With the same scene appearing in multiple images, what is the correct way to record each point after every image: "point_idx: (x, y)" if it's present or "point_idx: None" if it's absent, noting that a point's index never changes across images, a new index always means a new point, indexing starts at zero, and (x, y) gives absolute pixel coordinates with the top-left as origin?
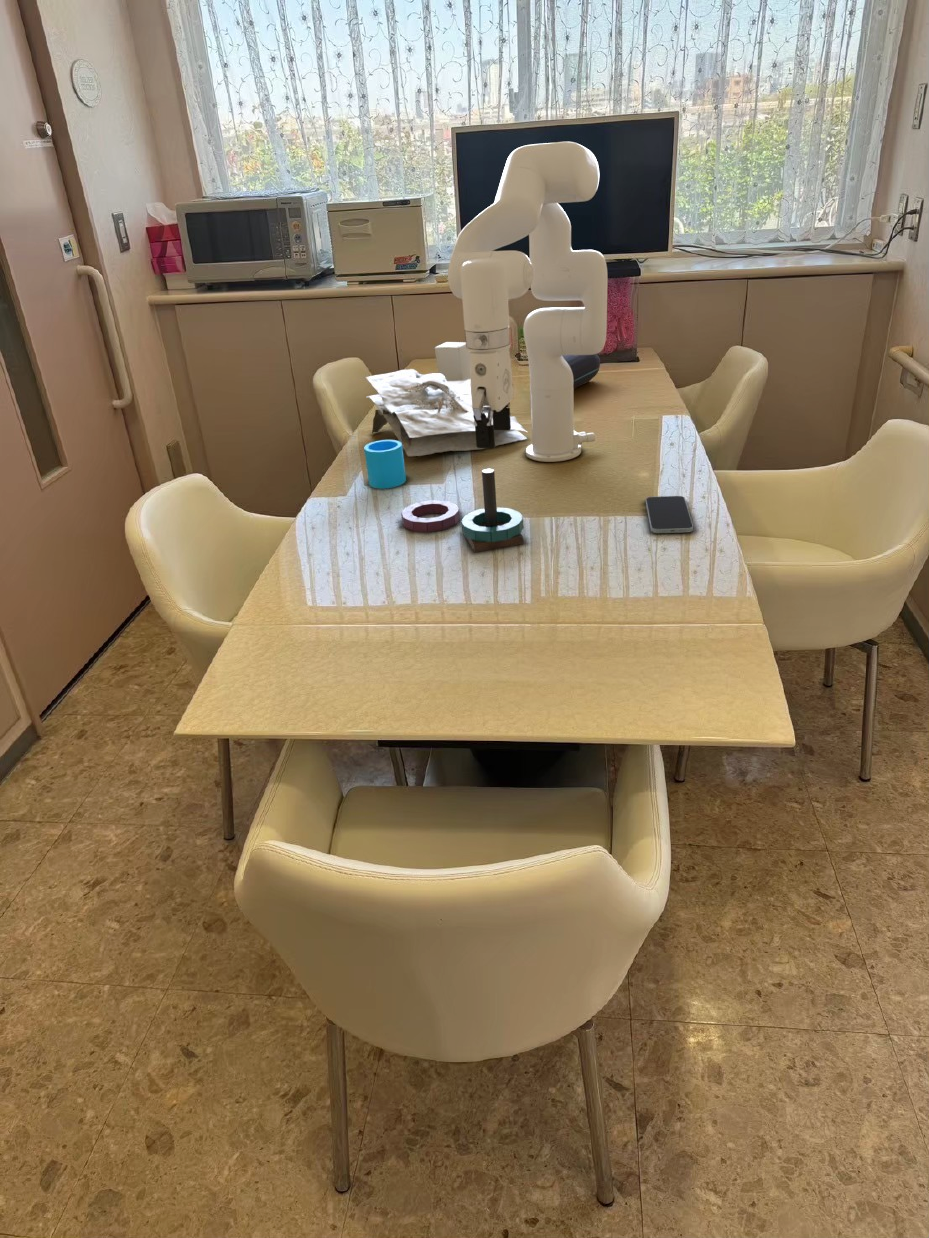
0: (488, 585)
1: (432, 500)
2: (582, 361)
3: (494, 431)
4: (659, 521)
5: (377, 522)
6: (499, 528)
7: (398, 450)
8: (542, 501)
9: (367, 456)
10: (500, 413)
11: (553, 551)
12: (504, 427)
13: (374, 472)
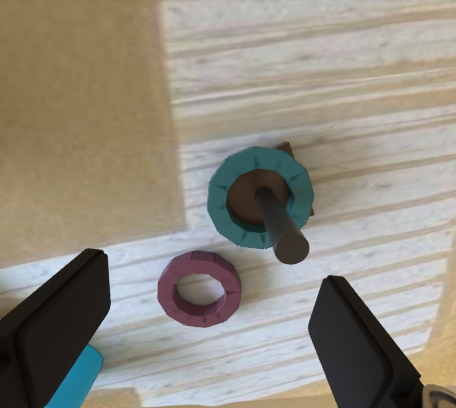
0: (421, 172)
1: (159, 300)
2: None
3: None
4: None
5: (210, 340)
6: (301, 183)
7: None
8: (103, 132)
9: None
10: (53, 351)
11: (317, 83)
12: (102, 276)
13: (89, 389)
